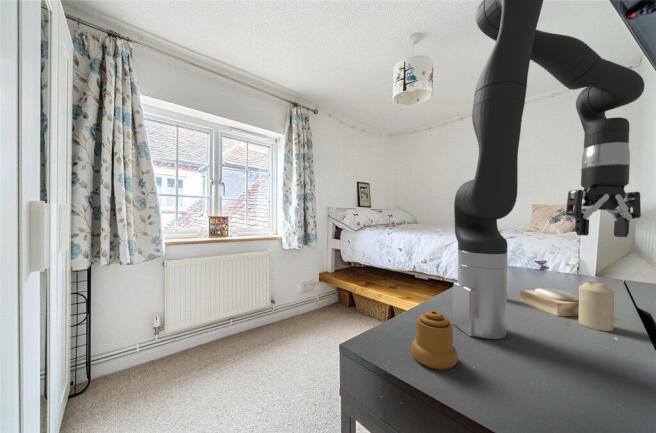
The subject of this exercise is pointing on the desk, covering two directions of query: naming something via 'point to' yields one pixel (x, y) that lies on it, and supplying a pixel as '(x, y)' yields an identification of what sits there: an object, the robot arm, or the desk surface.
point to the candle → (596, 306)
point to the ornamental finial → (434, 341)
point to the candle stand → (552, 301)
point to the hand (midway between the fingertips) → (601, 236)
